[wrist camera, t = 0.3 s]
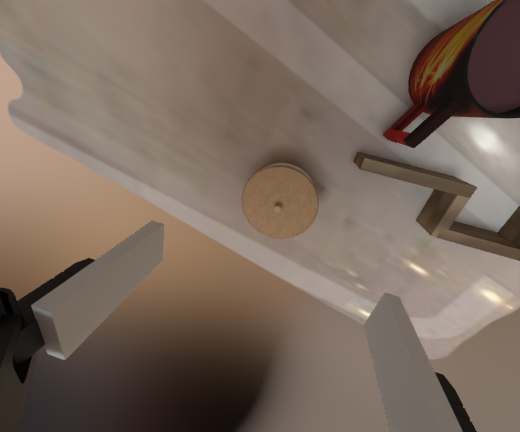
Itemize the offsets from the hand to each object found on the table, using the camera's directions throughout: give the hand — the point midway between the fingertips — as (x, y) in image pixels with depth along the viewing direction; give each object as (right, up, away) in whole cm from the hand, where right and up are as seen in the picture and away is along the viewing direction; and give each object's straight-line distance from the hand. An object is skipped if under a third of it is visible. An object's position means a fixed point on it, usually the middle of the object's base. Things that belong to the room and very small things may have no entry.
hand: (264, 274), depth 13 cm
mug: (+23, +19, +16) cm, 34 cm away
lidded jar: (+4, +8, +25) cm, 27 cm away
